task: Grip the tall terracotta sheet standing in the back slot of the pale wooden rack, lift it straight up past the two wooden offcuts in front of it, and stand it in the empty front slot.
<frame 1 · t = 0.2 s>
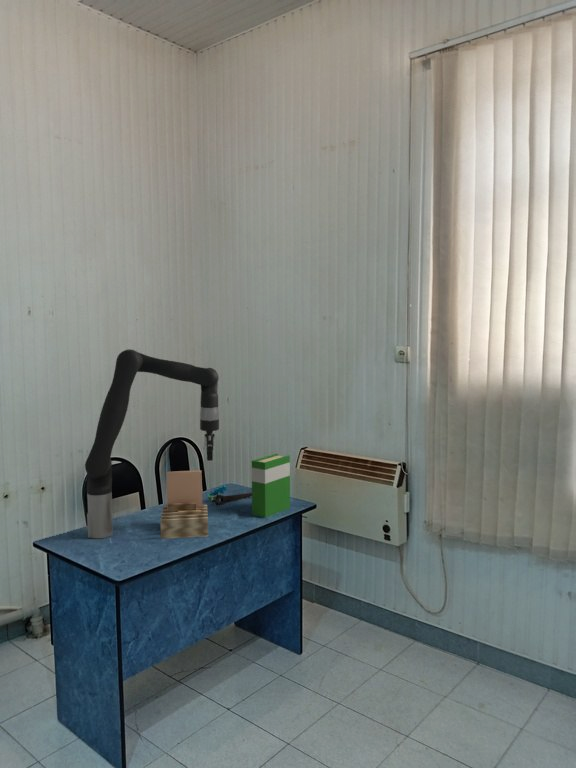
hand: (209, 458, 257), 29 cm above the table, tool pointing down, fingers open, 8 cm apart
hardback book: (271, 511, 283), on the table
offcut tall: (182, 527, 257), point 1 cm above the table, touching rack
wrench: (240, 502, 299), on the table
gear: (217, 500, 300), on the table
offcut short: (190, 530, 253), point 1 cm above the table, touching rack
tall sheet: (185, 524, 261), point 1 cm above the table, touching rack
rack: (185, 533, 255), on the table
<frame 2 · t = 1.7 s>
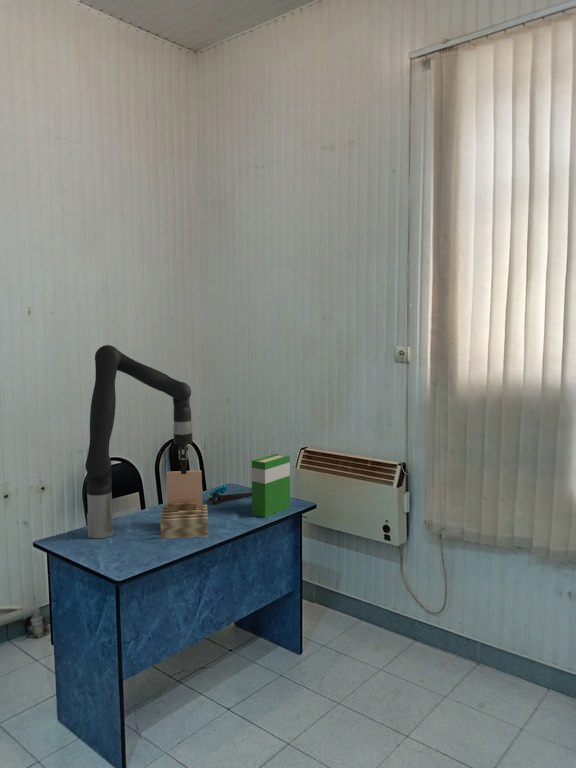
hand: (184, 471, 259), 24 cm above the table, tool pointing down, fingers open, 8 cm apart
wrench: (238, 501, 300), on the table
everything else where it was.
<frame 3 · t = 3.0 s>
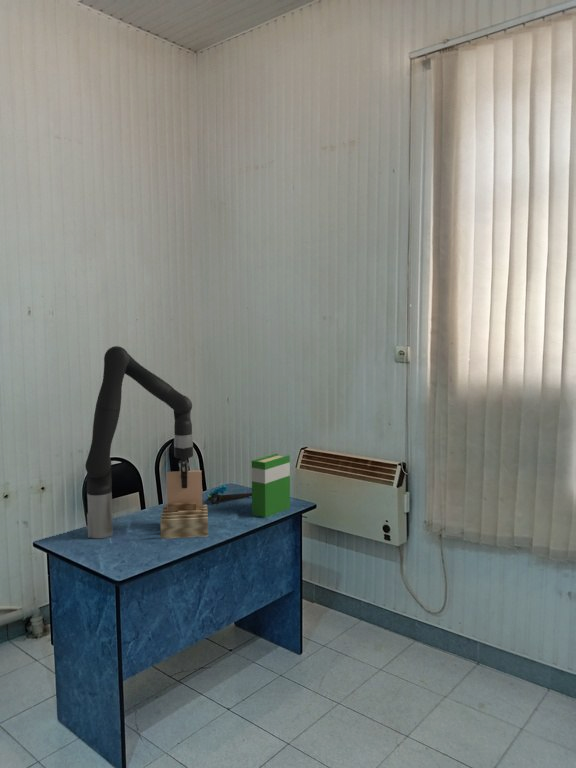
hand: (184, 487, 259), 17 cm above the table, tool pointing down, fingers closed on tall sheet, 1 cm apart
tall sheet: (185, 524, 261), point 2 cm above the table, touching gripper, rack
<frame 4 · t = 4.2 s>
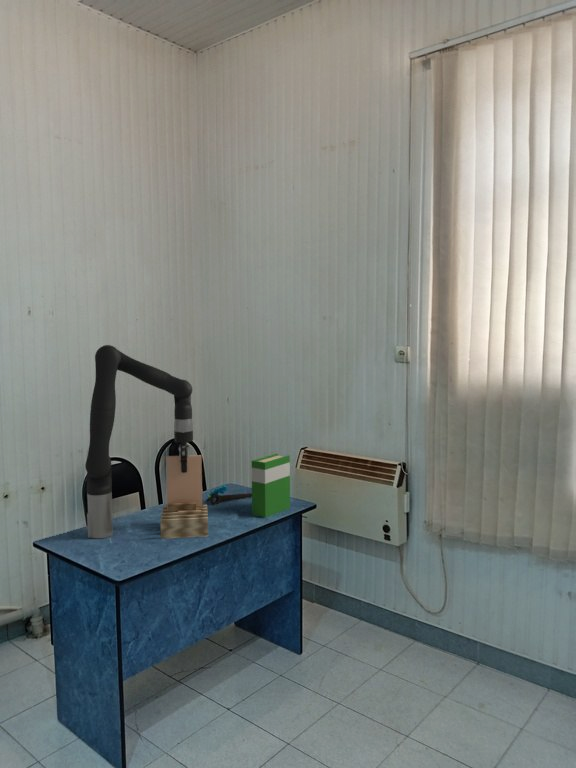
hand: (184, 471, 259), 23 cm above the table, tool pointing down, fingers closed on tall sheet, 1 cm apart
tall sheet: (184, 509, 260), point 8 cm above the table, touching gripper
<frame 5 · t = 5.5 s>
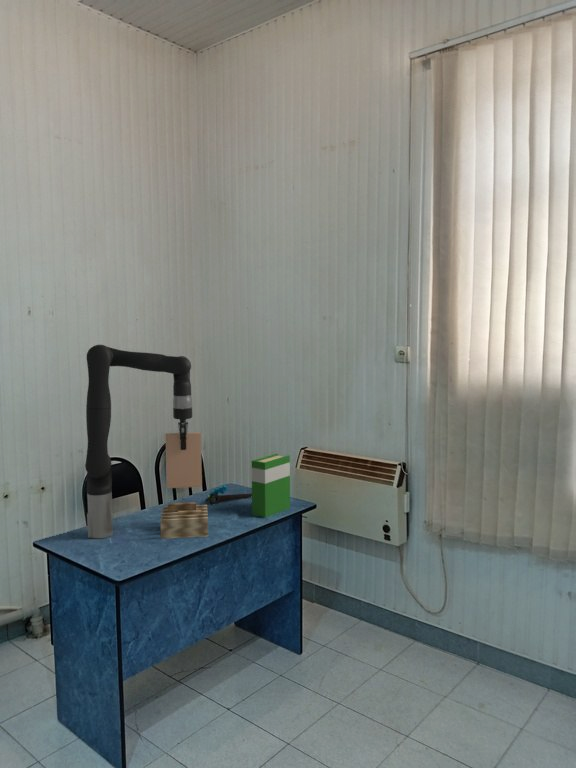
hand: (183, 449, 257), 33 cm above the table, tool pointing down, fingers closed on tall sheet, 1 cm apart
tall sheet: (184, 486, 258), point 17 cm above the table, touching gripper
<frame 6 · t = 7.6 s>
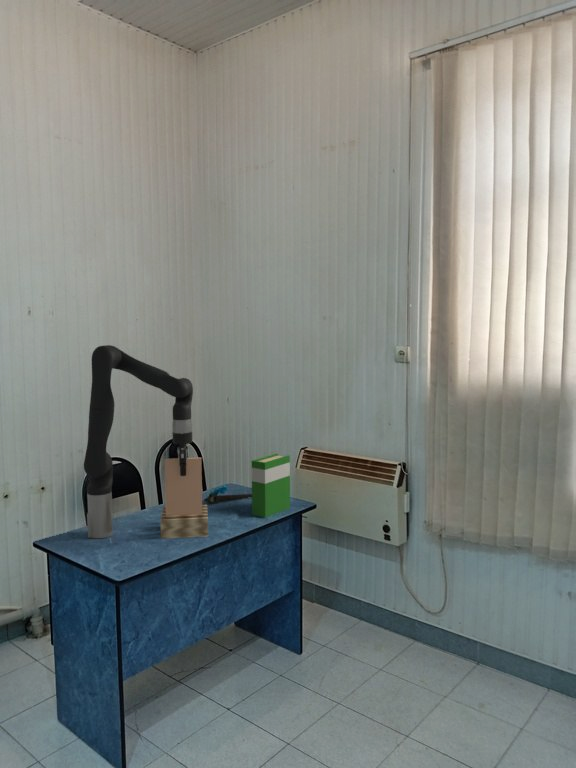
hand: (183, 474, 246), 25 cm above the table, tool pointing down, fingers closed on tall sheet, 1 cm apart
tall sheet: (184, 514, 248), point 10 cm above the table, touching gripper
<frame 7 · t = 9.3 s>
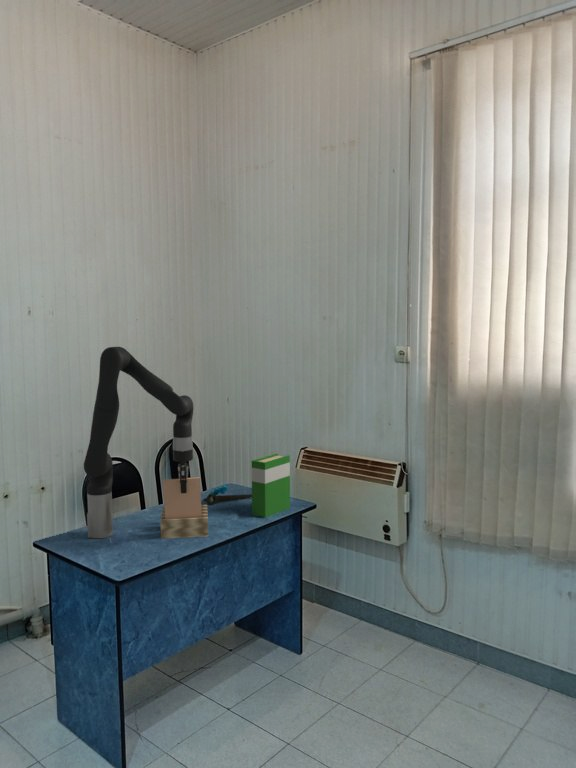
hand: (183, 491, 247), 19 cm above the table, tool pointing down, fingers closed
tall sheet: (184, 534, 249), point 2 cm above the table, touching rack
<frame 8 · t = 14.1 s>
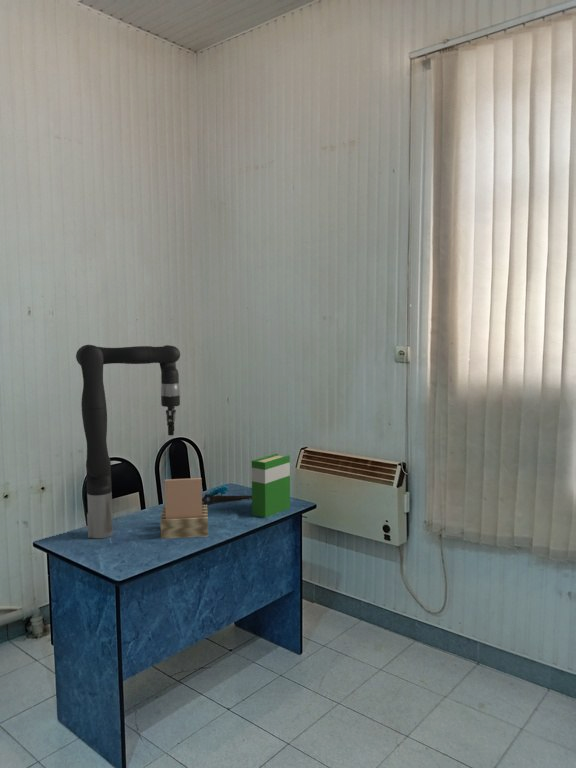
hand: (171, 433, 263), 38 cm above the table, tool pointing down, fingers open, 8 cm apart
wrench: (231, 503, 297), on the table
everything else where it was.
at the end: tall sheet inside the target area on the rack (0.1 cm from its centre), point 1.5 cm above the rack's base; tall sheet tilted 0°; offcut tall moved 0.0 cm from its start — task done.
